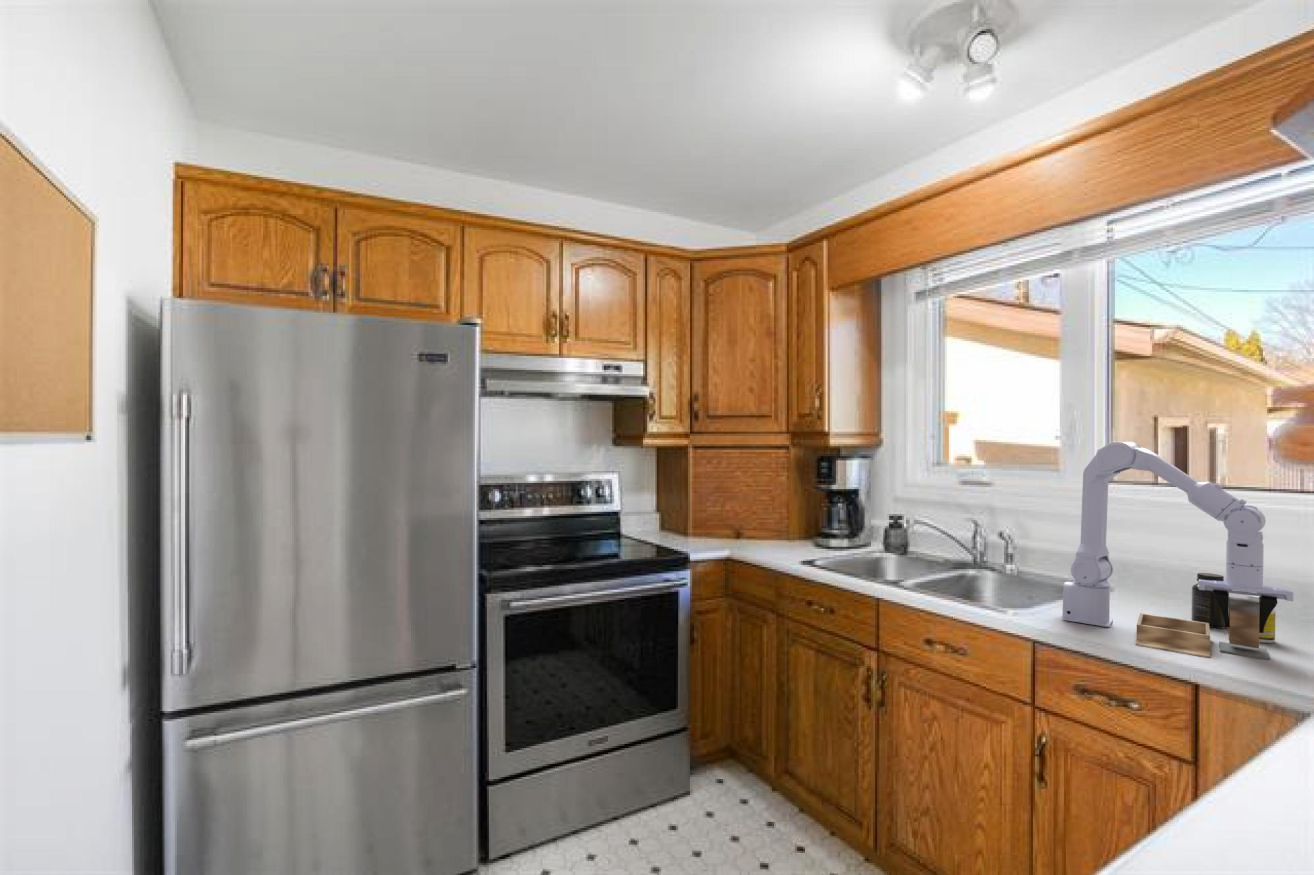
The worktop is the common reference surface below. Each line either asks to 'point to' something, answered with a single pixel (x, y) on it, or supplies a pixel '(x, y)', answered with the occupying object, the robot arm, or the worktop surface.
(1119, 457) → the robot arm
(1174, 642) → the wooden tray
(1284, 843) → the worktop surface
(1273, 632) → the supplement bottle
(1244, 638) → the block
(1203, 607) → the supplement bottle
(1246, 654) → the pad
